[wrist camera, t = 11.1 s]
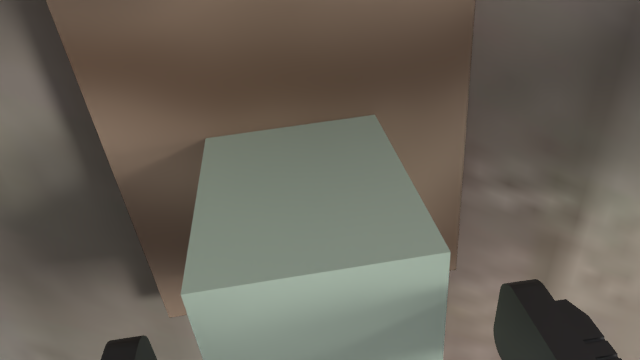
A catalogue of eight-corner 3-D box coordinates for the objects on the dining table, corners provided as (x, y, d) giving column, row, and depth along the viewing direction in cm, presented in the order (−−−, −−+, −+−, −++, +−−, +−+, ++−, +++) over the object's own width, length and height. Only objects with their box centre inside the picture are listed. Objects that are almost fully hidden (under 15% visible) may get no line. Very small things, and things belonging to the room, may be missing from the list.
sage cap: (205, 138, 16) (181, 295, 10) (375, 114, 16) (451, 251, 10) (237, 266, 19) (232, 445, 13) (379, 244, 19) (439, 408, 13)
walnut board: (-76, -392, 10) (-123, -430, 9) (478, -437, 11) (509, -480, 9) (173, 291, 21) (169, 317, 20) (443, 246, 21) (456, 269, 20)
